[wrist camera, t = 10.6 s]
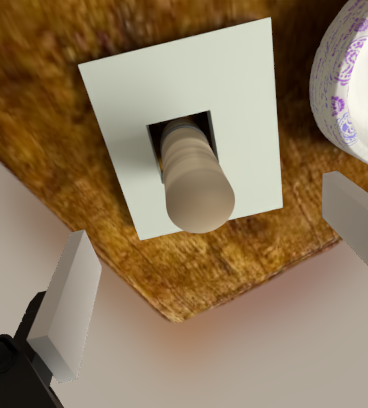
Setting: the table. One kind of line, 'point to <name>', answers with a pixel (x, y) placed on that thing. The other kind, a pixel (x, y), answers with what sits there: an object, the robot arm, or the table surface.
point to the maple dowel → (193, 179)
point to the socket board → (186, 105)
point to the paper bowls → (343, 81)
